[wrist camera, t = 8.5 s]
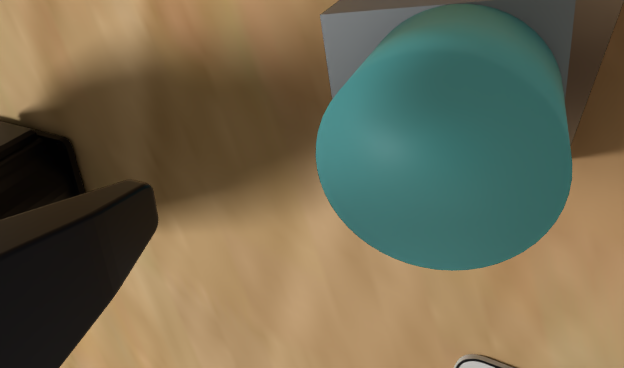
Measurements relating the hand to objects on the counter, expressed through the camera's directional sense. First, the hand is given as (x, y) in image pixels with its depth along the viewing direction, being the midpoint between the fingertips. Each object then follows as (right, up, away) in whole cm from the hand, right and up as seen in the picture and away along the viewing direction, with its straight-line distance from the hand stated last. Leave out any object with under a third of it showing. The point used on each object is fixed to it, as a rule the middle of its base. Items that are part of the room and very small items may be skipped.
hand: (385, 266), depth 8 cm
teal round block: (+3, +4, +6) cm, 8 cm away
